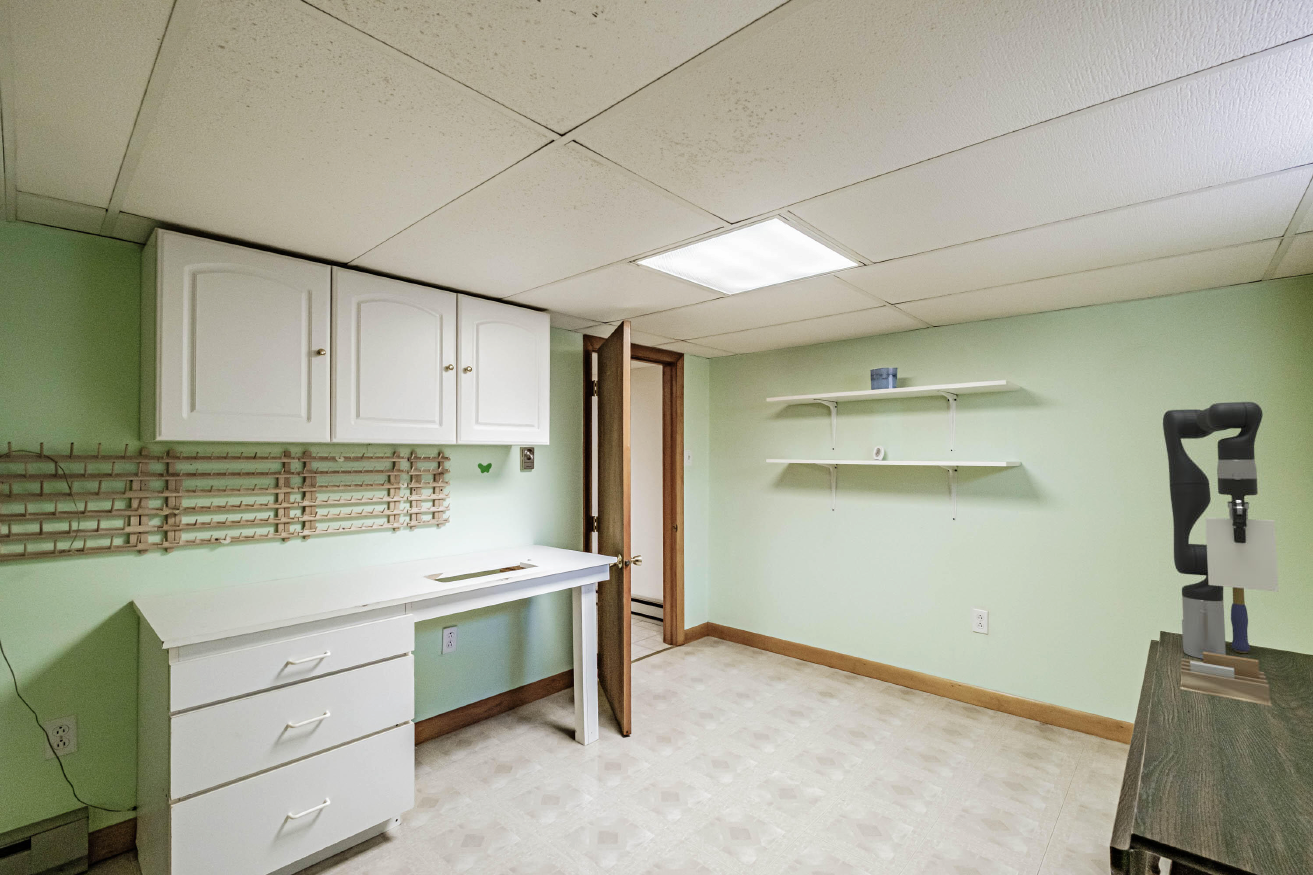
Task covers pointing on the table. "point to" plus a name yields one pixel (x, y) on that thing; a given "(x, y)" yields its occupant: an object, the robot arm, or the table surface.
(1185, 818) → the table surface
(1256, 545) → the sheet
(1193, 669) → the offcut grey
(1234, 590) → the rubber mallet
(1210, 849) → the table surface
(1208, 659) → the offcut oak
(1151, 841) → the table surface
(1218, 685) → the rack
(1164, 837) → the table surface
